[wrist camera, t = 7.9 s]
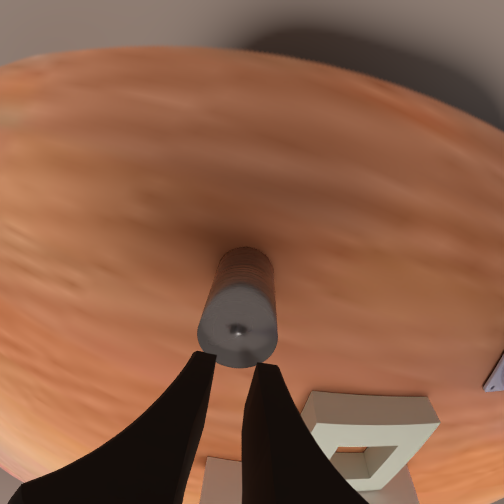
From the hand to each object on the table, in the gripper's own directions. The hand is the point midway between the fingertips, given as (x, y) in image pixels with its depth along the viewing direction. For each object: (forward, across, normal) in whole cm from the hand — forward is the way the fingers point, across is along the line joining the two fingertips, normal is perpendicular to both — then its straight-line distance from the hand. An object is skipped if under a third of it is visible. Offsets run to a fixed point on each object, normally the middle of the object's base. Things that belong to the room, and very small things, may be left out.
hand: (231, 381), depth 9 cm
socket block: (+8, -11, +13) cm, 19 cm away
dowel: (+8, 0, 0) cm, 8 cm away
